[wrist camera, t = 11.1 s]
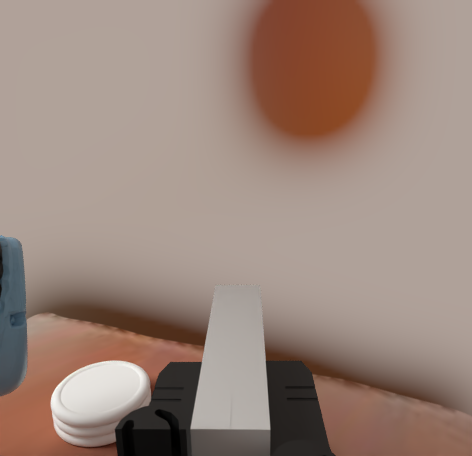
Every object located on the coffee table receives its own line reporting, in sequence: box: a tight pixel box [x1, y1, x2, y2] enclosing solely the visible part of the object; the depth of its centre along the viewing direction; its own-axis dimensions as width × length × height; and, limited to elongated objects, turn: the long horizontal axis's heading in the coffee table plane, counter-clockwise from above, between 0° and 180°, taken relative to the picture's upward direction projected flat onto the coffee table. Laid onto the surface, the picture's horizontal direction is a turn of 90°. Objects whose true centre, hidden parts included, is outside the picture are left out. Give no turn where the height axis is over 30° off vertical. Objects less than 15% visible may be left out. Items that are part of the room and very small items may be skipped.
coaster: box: [51, 361, 151, 447], centre depth 45 cm, size 10×10×4 cm
